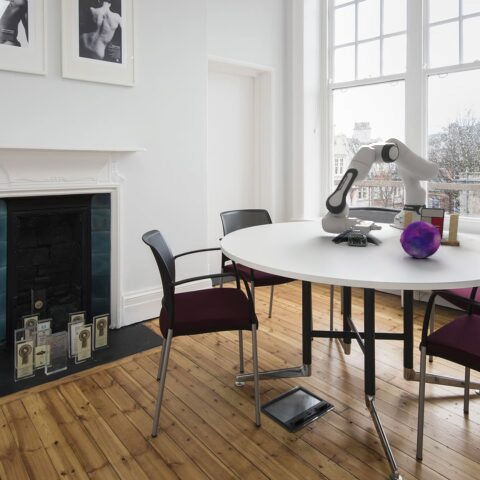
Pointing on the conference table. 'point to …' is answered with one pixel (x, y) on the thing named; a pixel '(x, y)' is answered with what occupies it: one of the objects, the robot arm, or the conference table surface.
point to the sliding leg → (408, 218)
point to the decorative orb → (420, 239)
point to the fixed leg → (453, 228)
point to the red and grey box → (434, 217)
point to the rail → (447, 243)
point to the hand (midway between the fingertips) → (381, 228)
